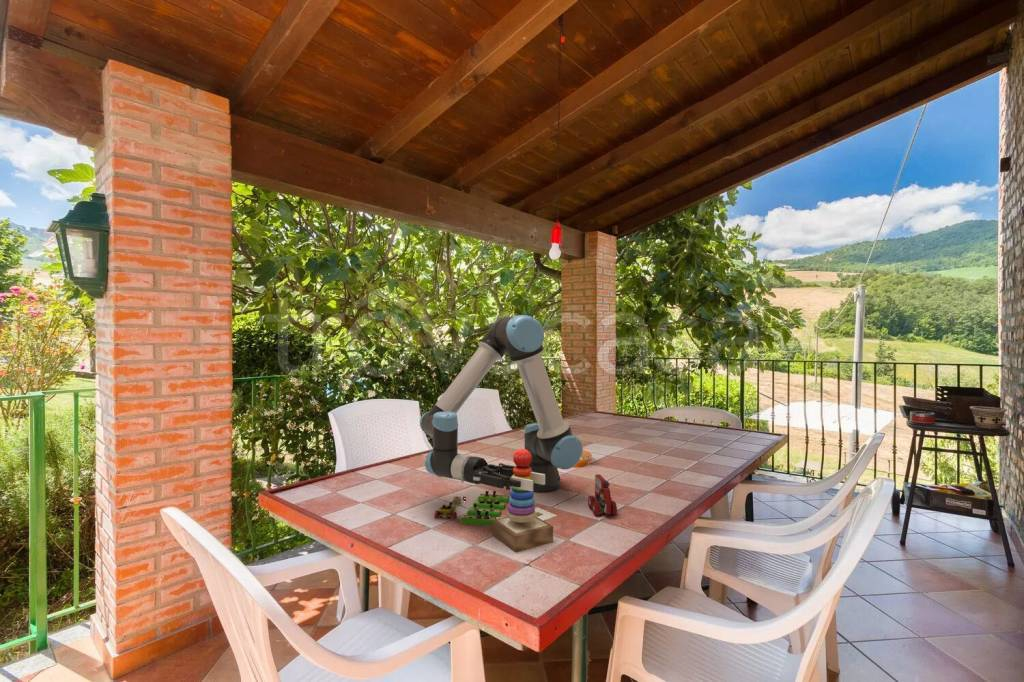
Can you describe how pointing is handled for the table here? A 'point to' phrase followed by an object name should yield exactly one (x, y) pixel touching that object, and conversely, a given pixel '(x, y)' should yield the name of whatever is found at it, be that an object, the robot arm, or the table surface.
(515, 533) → the pedestal
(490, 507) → the toy garden set
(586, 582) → the table surface
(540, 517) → the page
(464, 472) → the robot arm
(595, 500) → the toy fire truck
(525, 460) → the stacking toy
